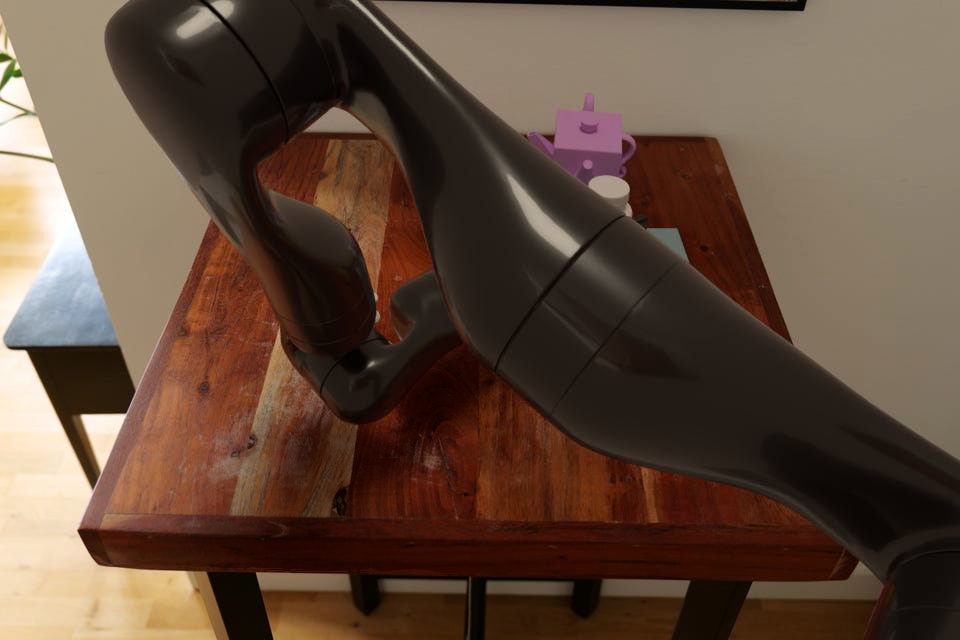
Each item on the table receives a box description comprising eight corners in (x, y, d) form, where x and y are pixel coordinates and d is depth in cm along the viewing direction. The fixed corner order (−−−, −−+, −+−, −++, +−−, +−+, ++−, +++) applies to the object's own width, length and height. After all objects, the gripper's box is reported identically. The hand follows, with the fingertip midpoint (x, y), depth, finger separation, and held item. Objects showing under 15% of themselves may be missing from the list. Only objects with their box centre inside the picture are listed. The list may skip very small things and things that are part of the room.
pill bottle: (625, 284, 86) (641, 204, 80) (572, 282, 86) (583, 202, 80) (618, 250, 90) (633, 171, 84) (567, 249, 90) (578, 170, 84)
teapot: (528, 146, 115) (533, 79, 108) (626, 154, 114) (637, 87, 108) (518, 225, 102) (523, 154, 95) (629, 235, 101) (642, 164, 94)
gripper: (559, 285, 70) (685, 210, 79) (445, 207, 78) (572, 147, 87) (551, 350, 76) (670, 273, 84) (445, 271, 83) (564, 208, 92)
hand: (620, 209), depth 86 cm, fingers closed on pill bottle, 5 cm apart
